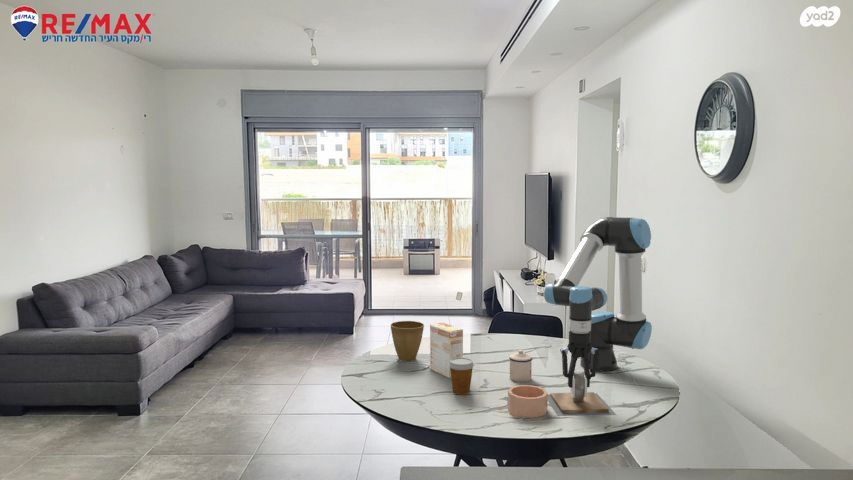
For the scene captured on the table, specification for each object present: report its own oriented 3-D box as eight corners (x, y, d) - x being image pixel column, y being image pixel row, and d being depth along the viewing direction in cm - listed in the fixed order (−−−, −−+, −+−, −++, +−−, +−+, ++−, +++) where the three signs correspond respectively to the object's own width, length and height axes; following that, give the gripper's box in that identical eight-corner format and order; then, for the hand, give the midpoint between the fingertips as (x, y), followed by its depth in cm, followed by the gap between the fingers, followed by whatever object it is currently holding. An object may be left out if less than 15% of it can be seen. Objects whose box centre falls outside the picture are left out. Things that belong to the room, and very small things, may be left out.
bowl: (541, 403, 209) (541, 384, 208) (550, 418, 196) (551, 398, 195) (505, 404, 208) (505, 385, 208) (512, 419, 196) (512, 398, 195)
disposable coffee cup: (447, 387, 226) (447, 357, 224) (471, 387, 226) (471, 356, 225) (450, 396, 216) (450, 365, 215) (475, 395, 217) (475, 364, 216)
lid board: (593, 395, 215) (594, 365, 214) (608, 412, 199) (609, 380, 198) (550, 396, 215) (550, 366, 213) (562, 413, 199) (562, 381, 198)
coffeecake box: (463, 375, 240) (463, 329, 238) (449, 379, 236) (449, 331, 234) (443, 366, 252) (443, 321, 250) (429, 369, 248) (429, 324, 247)
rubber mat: (596, 394, 217) (596, 393, 217) (616, 416, 197) (616, 414, 197) (543, 396, 216) (543, 394, 216) (557, 417, 197) (557, 415, 197)
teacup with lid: (535, 381, 232) (536, 352, 231) (514, 383, 230) (514, 354, 229) (523, 371, 244) (523, 344, 243) (503, 373, 242) (503, 346, 241)
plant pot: (412, 366, 252) (412, 330, 251) (384, 361, 260) (383, 325, 258) (430, 357, 265) (430, 322, 263) (403, 352, 272) (402, 318, 271)
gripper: (559, 334, 200) (558, 400, 203) (607, 333, 201) (605, 399, 203) (553, 328, 208) (552, 392, 210) (599, 328, 208) (598, 391, 211)
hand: (578, 395), depth 207 cm, fingers closed on lid board, 4 cm apart
